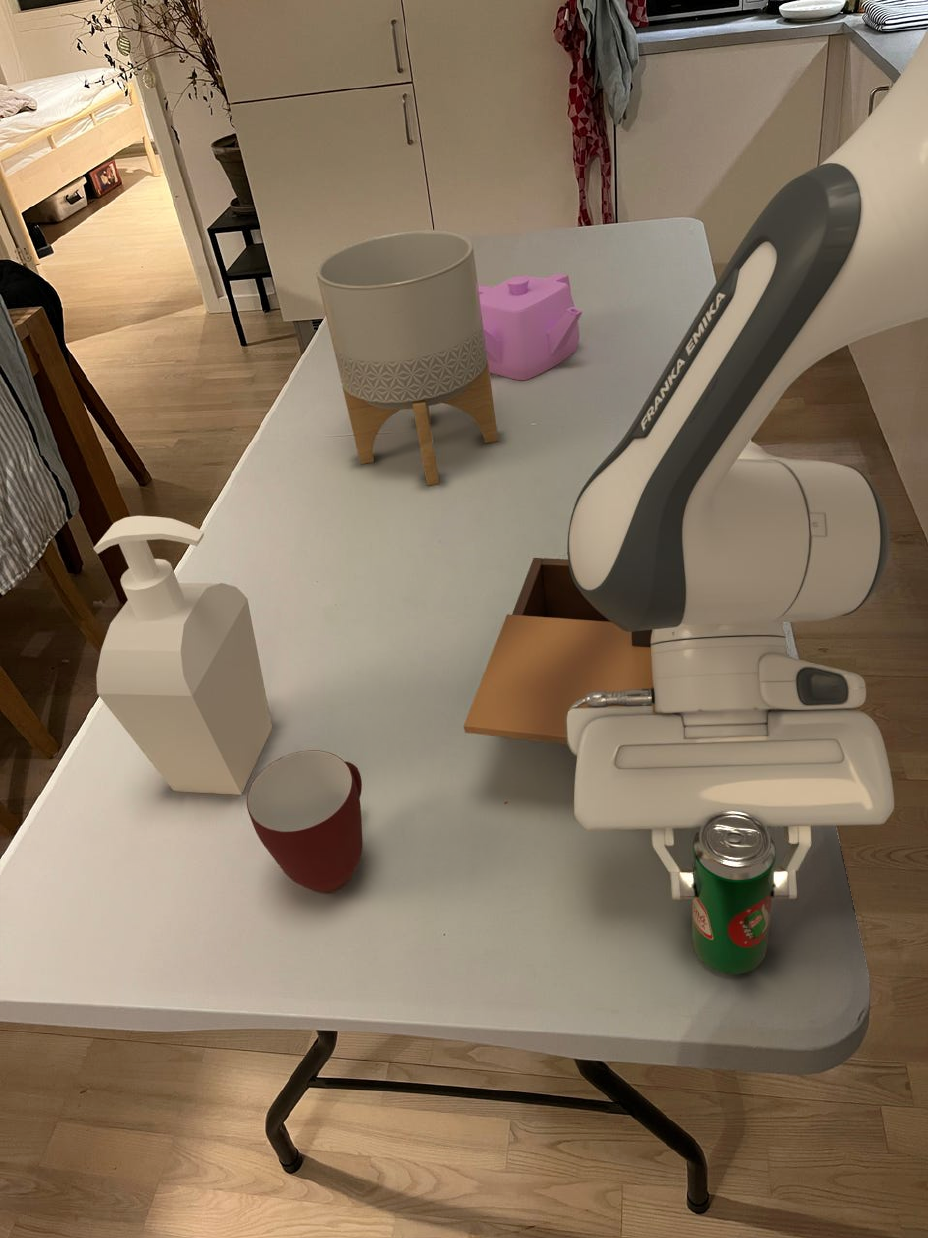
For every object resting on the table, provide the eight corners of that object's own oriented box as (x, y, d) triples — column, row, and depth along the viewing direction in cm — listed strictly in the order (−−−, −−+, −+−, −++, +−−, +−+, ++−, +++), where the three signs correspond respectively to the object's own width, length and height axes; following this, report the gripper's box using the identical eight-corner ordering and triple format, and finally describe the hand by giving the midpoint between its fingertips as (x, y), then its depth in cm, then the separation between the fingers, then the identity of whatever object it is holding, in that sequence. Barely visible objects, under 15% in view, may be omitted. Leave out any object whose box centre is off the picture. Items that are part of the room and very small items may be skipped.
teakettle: (573, 329, 155) (568, 251, 148) (587, 373, 142) (582, 290, 134) (469, 344, 156) (458, 268, 149) (473, 390, 143) (461, 308, 135)
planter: (359, 429, 138) (318, 245, 122) (490, 407, 138) (465, 220, 122) (360, 497, 123) (313, 297, 107) (506, 472, 123) (480, 268, 107)
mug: (314, 804, 84) (285, 722, 77) (401, 815, 81) (379, 731, 75) (263, 907, 76) (227, 825, 70) (358, 923, 73) (329, 840, 67)
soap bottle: (261, 814, 83) (162, 573, 67) (155, 808, 86) (36, 574, 70) (304, 713, 93) (226, 481, 77) (208, 710, 95) (113, 484, 79)
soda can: (690, 913, 70) (691, 805, 63) (762, 916, 69) (772, 806, 62) (693, 977, 66) (694, 870, 59) (770, 981, 65) (781, 872, 58)
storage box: (700, 632, 94) (702, 566, 89) (685, 735, 84) (686, 667, 79) (540, 620, 99) (533, 557, 94) (507, 717, 89) (497, 651, 84)
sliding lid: (690, 634, 81) (691, 579, 78) (671, 755, 71) (670, 699, 68) (507, 621, 86) (500, 568, 83) (464, 732, 76) (454, 678, 72)
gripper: (561, 690, 63) (571, 907, 62) (891, 677, 60) (910, 905, 58) (566, 693, 69) (576, 890, 68) (866, 681, 66) (883, 888, 65)
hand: (733, 897), depth 63 cm, fingers closed on soda can, 5 cm apart
